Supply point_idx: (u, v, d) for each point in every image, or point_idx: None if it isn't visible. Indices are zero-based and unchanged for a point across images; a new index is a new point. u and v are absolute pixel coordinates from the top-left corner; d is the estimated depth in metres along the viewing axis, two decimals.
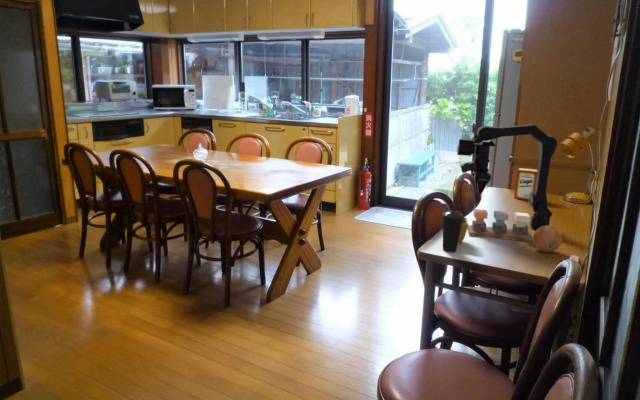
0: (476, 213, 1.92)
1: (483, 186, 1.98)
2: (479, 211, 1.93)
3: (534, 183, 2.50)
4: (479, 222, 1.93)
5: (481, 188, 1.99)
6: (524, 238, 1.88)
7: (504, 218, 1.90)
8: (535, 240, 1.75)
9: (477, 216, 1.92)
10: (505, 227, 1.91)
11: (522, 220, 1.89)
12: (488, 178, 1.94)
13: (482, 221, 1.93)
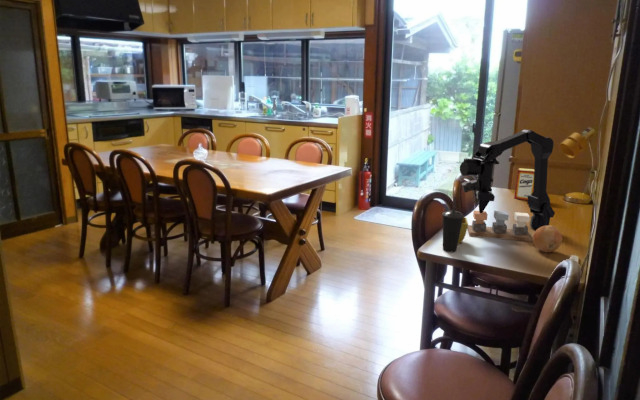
0: (476, 215, 1.92)
1: (484, 204, 1.91)
2: (479, 213, 1.93)
3: None
4: (479, 223, 1.93)
5: (482, 206, 1.92)
6: (524, 238, 1.88)
7: (504, 218, 1.90)
8: (535, 240, 1.75)
9: (477, 218, 1.92)
10: (505, 227, 1.91)
11: (522, 220, 1.89)
12: (491, 199, 1.82)
13: (482, 222, 1.93)
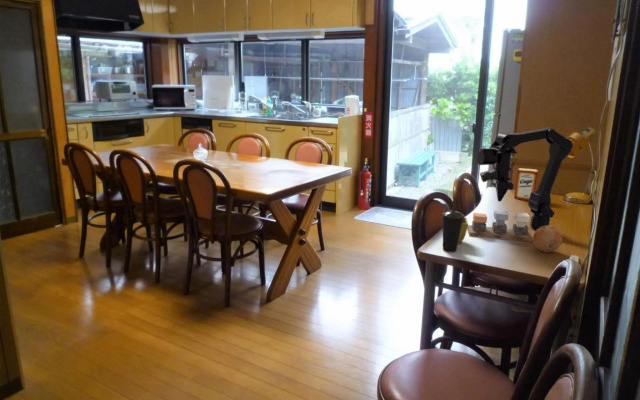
0: (476, 217, 1.92)
1: (503, 193, 1.95)
2: (479, 215, 1.93)
3: (534, 183, 2.50)
4: None
5: (501, 195, 1.96)
6: (524, 238, 1.88)
7: (504, 218, 1.90)
8: (535, 240, 1.75)
9: (477, 220, 1.92)
10: (505, 227, 1.91)
11: (522, 220, 1.89)
12: (511, 187, 1.87)
13: None
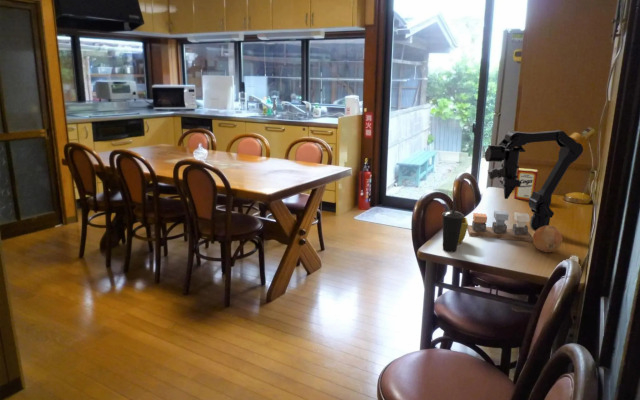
0: (476, 217, 1.92)
1: (510, 190, 1.98)
2: (479, 215, 1.93)
3: (534, 183, 2.50)
4: None
5: (508, 192, 1.98)
6: (524, 238, 1.88)
7: (504, 218, 1.90)
8: (535, 240, 1.75)
9: (477, 220, 1.92)
10: (505, 227, 1.91)
11: (522, 220, 1.89)
12: (518, 185, 1.89)
13: None
